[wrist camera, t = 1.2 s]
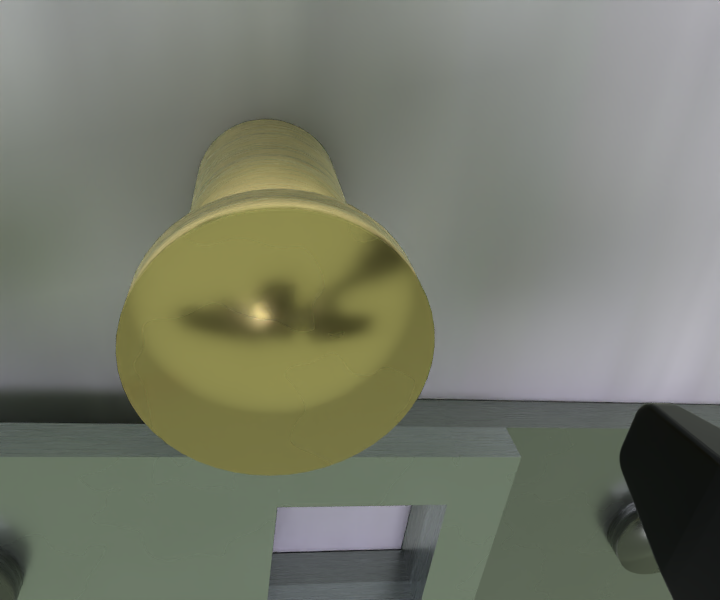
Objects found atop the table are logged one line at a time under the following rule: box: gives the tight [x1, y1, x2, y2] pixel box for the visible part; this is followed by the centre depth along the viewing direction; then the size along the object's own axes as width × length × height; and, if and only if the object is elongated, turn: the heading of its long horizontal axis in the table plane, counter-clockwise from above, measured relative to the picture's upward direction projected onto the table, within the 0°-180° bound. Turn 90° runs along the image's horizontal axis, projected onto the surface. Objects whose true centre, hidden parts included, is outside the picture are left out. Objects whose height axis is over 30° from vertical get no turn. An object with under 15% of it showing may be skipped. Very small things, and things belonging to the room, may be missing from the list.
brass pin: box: [116, 119, 434, 476], centre depth 12 cm, size 4×4×7 cm
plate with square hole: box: [0, 400, 720, 600], centre depth 19 cm, size 26×8×3 cm, turn 82°
